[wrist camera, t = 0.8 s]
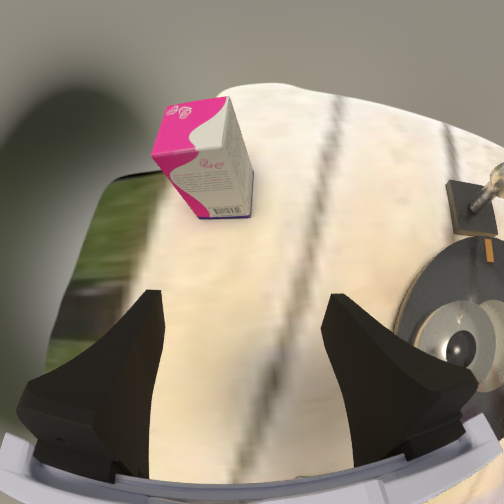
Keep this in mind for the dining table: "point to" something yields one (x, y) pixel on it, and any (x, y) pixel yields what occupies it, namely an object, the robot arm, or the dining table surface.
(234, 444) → the dining table surface
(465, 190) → the chrome shaft on stand
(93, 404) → the robot arm
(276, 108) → the dining table surface
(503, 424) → the turntable
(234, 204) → the supplement box
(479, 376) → the cover
